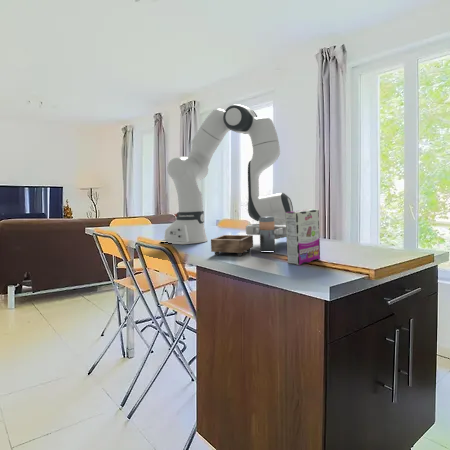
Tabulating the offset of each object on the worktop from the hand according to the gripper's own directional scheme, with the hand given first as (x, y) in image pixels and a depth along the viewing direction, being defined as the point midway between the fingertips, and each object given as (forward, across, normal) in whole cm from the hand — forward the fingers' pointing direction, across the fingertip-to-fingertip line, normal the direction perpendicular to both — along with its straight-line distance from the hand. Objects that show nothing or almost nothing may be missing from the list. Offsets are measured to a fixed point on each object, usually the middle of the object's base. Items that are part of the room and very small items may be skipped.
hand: (266, 232), depth 132 cm
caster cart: (+4, -12, +8) cm, 15 cm away
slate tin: (-1, 0, +8) cm, 8 cm away
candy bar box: (+13, +16, +8) cm, 22 cm away
